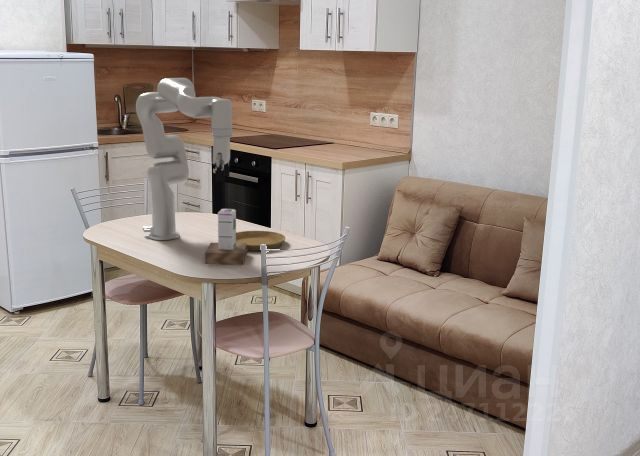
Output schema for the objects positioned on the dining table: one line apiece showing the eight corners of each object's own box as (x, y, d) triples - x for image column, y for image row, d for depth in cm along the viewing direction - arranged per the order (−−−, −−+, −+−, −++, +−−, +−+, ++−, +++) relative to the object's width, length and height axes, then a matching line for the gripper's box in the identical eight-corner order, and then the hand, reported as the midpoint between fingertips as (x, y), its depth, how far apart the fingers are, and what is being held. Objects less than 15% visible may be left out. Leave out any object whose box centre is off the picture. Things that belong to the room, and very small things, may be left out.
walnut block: (205, 265, 266) (204, 252, 265) (210, 255, 279) (210, 242, 278) (243, 266, 266) (243, 253, 265) (246, 255, 279) (246, 243, 278)
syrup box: (233, 250, 268) (233, 212, 265) (217, 249, 269) (217, 211, 265) (236, 246, 274) (236, 209, 270) (220, 245, 274) (221, 208, 271)
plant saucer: (255, 234, 310) (255, 227, 309) (297, 244, 295) (297, 236, 294) (213, 245, 292) (213, 237, 291) (256, 256, 277) (256, 248, 276)
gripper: (216, 129, 273) (217, 174, 277) (206, 135, 256) (207, 182, 261) (236, 130, 273) (236, 174, 277) (227, 136, 256) (228, 183, 260)
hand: (222, 178), depth 269 cm, fingers open, 9 cm apart
